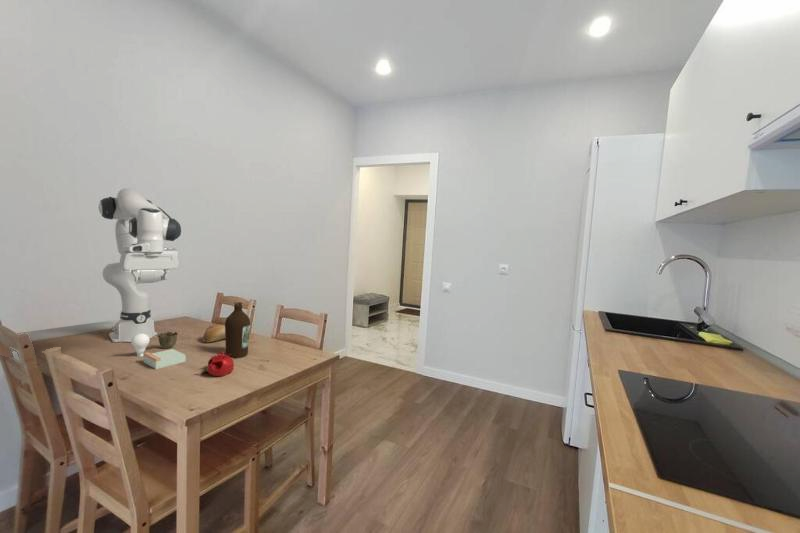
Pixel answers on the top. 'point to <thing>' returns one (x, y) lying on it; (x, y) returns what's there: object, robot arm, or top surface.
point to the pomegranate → (220, 365)
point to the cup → (167, 339)
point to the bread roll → (214, 333)
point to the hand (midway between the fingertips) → (150, 280)
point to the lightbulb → (140, 343)
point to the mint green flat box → (164, 358)
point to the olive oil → (237, 332)
